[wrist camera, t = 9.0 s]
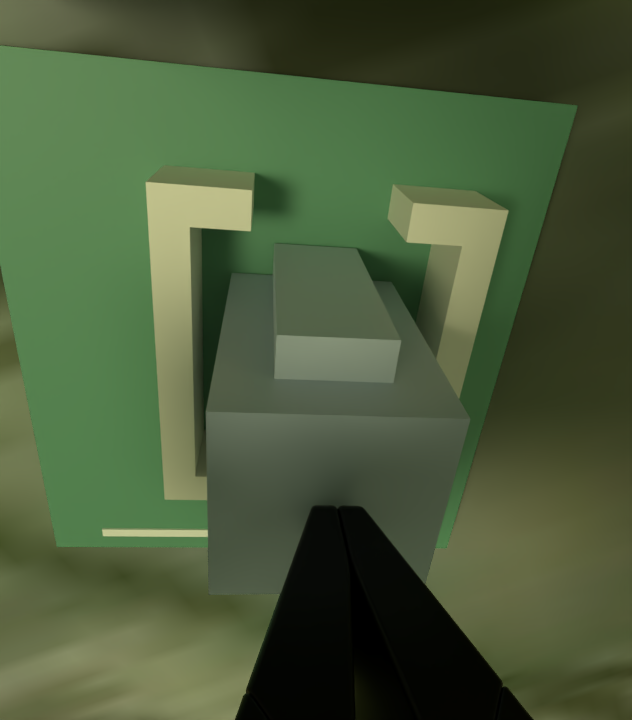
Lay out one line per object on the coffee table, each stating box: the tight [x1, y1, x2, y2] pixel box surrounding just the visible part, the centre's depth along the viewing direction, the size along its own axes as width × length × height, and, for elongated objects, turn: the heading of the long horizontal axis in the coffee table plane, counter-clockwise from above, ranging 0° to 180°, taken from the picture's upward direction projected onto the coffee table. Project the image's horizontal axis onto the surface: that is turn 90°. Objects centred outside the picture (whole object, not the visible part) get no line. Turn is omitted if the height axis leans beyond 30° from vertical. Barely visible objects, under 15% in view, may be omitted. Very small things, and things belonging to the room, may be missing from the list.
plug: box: [206, 243, 470, 595], centre depth 11 cm, size 5×4×6 cm
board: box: [0, 45, 578, 548], centre depth 14 cm, size 14×13×3 cm
